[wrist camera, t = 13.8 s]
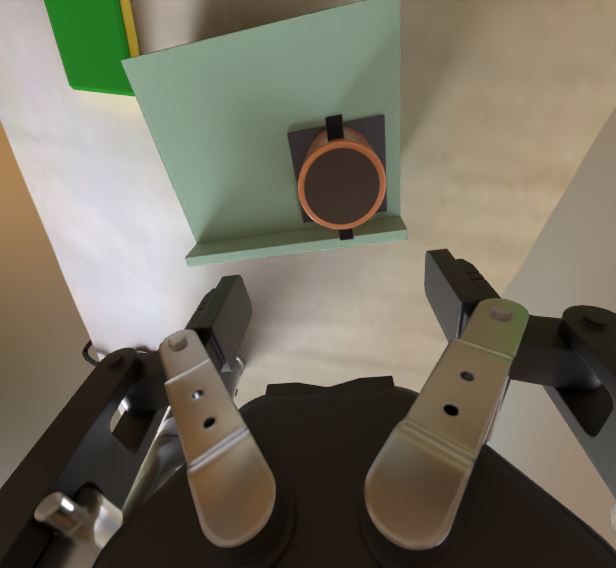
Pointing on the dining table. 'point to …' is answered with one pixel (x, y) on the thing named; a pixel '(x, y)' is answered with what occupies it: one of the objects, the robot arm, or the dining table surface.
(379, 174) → the copper pot
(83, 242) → the dining table surface
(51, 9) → the dish sponge
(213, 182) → the shelf
